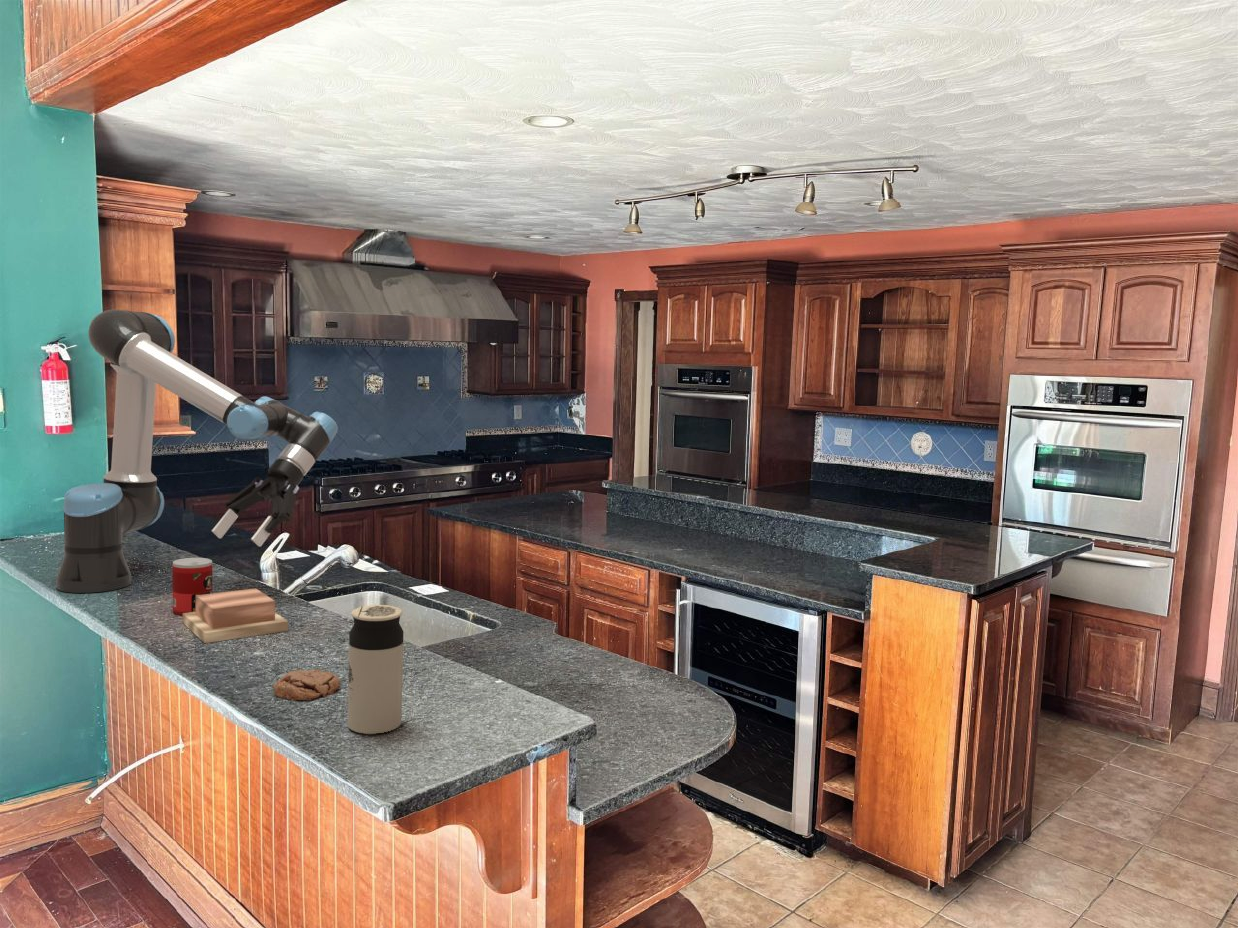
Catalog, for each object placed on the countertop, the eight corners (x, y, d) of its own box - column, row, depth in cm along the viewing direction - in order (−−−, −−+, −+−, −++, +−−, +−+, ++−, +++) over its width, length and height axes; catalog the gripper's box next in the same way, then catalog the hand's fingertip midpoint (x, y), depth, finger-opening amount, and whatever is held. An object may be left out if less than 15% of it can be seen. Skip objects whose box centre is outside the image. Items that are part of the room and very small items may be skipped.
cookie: (350, 693, 151) (350, 675, 150) (288, 707, 143) (289, 689, 143) (323, 676, 158) (323, 660, 157) (263, 689, 150) (263, 672, 150)
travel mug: (406, 716, 141) (408, 605, 139) (395, 736, 133) (397, 619, 131) (355, 714, 141) (357, 603, 139) (341, 734, 133) (343, 617, 131)
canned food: (197, 617, 188) (197, 566, 187) (164, 613, 190) (163, 563, 188) (220, 608, 196) (220, 559, 194) (188, 605, 197) (188, 556, 196)
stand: (182, 622, 184) (182, 594, 183) (261, 612, 194) (262, 585, 194) (204, 643, 172) (204, 612, 171) (288, 630, 182) (288, 602, 181)
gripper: (336, 483, 208) (283, 556, 196) (265, 472, 220) (210, 541, 209) (318, 462, 203) (262, 536, 191) (246, 452, 215) (189, 521, 204)
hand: (235, 538), depth 200 cm, fingers open, 13 cm apart
